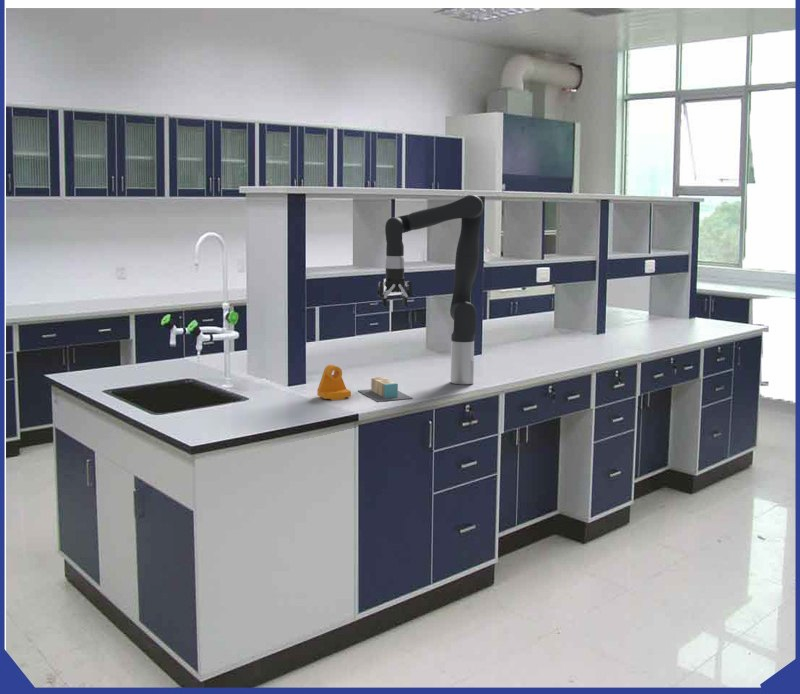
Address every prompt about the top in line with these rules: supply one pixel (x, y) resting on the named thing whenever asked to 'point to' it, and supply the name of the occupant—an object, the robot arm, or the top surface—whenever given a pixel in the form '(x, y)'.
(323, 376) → the bracket
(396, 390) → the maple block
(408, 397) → the rubber mat
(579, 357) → the top surface
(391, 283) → the robot arm
